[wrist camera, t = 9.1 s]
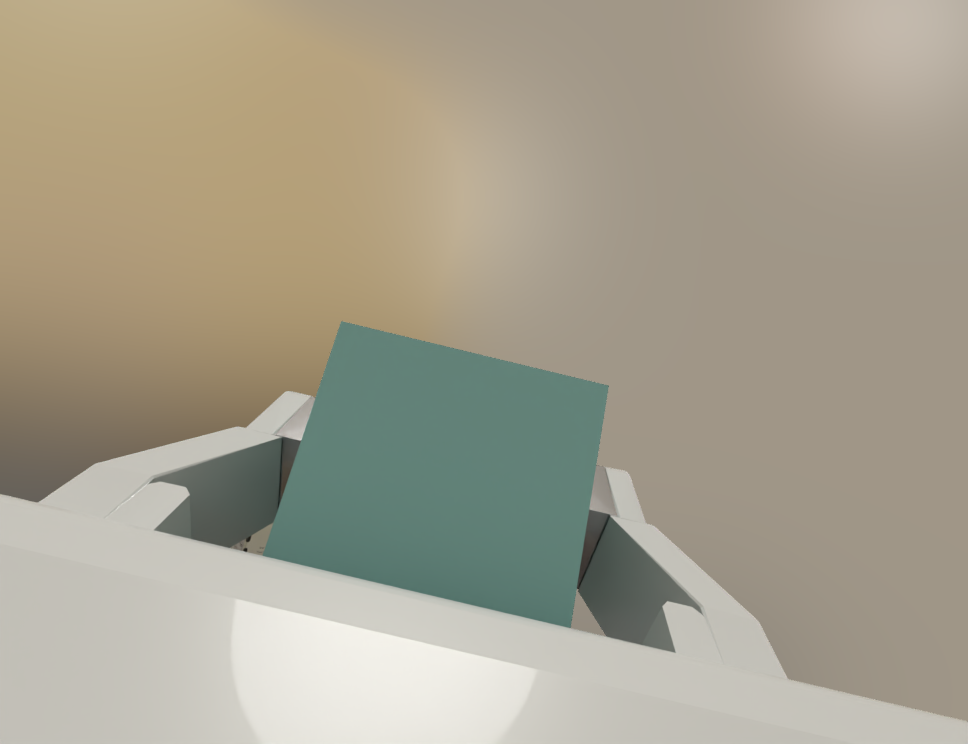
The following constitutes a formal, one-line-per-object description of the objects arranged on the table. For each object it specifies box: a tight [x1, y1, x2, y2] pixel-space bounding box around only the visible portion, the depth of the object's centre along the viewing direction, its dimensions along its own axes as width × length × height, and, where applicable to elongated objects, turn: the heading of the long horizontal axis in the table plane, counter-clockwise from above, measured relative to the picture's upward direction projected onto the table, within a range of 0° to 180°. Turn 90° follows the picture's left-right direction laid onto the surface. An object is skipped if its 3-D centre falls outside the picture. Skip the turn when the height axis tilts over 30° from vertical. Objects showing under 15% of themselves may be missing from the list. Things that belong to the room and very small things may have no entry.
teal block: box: [262, 322, 609, 628], centre depth 19 cm, size 4×26×4 cm, turn 2°
